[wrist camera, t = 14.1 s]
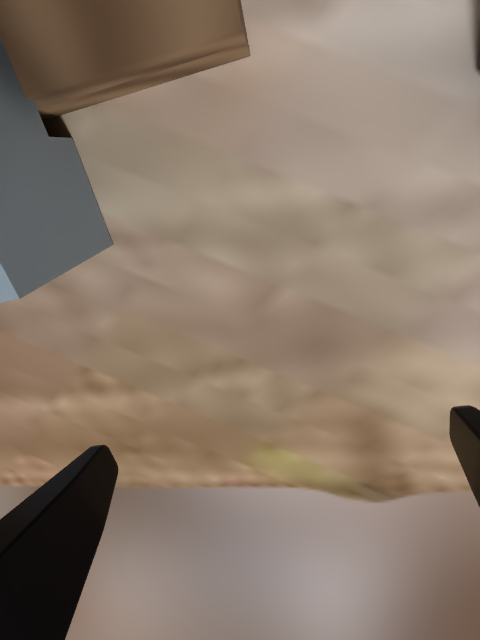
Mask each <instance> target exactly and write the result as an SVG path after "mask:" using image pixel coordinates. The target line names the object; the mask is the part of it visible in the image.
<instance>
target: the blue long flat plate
mask: <svg viewBox="0 0 480 640" xmlns="http://www.w3.org/2000/svg"><path fill="white" fill-rule="evenodd" d="M112 245H113V243H112V240H111V237H110V235H109V232H108V230H107V227H106V224H105V222H104V219H103V217H102V214H101V211H100V209H99V206H98V204H97V201H96V198H95V196H94V193H93V191H92V188H91V185H90V183H89V180H88V178H87V175H86V173H85V170H84V167H83V165H82V162H81V160H80V157H79V154H78V152H77V149H76V147H75V144H74V141H73V139H72V138H64V137H49V136H48V134H47V131H46V129H45V126H44V124H43V122H42V119H41V117H40V114H39V112H38V109H37V107H36V104H35V102H34V100H32V99H27V98H26V97H25V94H24V92H23V89H22V87H21V85H20V82H19V80H18V77H17V75H16V73H15V70H14V68H13V66H12V63H11V61H10V58H9V56H8V54H7V51H6V49H5V46H4V44H3V42H2V39H1V37H0V303H1V302H6V301H11V300H16V299H20V298H22V297H24V296H25V295H27V294H29V293H31V292H32V291H34V290H36V289H37V288H39V287H41V286H43V285H44V284H46V283H48V282H49V281H51V280H53V279H55V278H56V277H58V276H60V275H62V274H63V273H65V272H67V271H68V270H70V269H72V268H74V267H75V266H77V265H79V264H80V263H82V262H84V261H86V260H87V259H89V258H91V257H93V256H94V255H96V254H98V253H99V252H101V251H103V250H105V249H106V248H108V247H110V246H112Z"/></svg>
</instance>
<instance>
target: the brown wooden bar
mask: <svg viewBox="0 0 480 640" xmlns="http://www.w3.org/2000/svg"><path fill="white" fill-rule="evenodd" d="M0 37H1V39H2V42H3V44H4V46H5V49H6V51H7V54H8V56H9V58H10V61H11V63H12V66H13V68H14V70H15V73H16V75H17V77H18V80H19V82H20V85H21V87H22V89H23V92H24V94H25V97H26V98H27V99H32V100H34V102H35V104H36V107H37V109H38V112H39V114H40V117H41V119H42V121H43V120H46V119H50V118H53V117H56V116H59V115H62V114H66V113H69V112H72V111H75V110H79V109H82V108H85V107H88V106H91V105H95V104H98V103H101V102H104V101H107V100H111V99H114V98H117V97H120V96H123V95H127V94H130V93H133V92H136V91H139V90H143V89H146V88H149V87H152V86H155V85H159V84H162V83H165V82H168V81H172V80H175V79H178V78H181V77H184V76H188V75H191V74H194V73H197V72H200V71H204V70H207V69H210V68H213V67H216V66H220V65H223V64H226V63H229V62H232V61H236V60H239V59H242V58H245V57H249V56H250V50H249V45H248V39H247V34H246V28H245V22H244V17H243V11H242V6H241V0H0Z"/></svg>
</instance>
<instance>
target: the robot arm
mask: <svg viewBox="0 0 480 640" xmlns="http://www.w3.org/2000/svg"><path fill="white" fill-rule="evenodd" d="M450 439H451V442H452V445H453V447H454V450H455V452H456V454H457V457H458V459H459V461H460V463H461V466H462V468H463V470H464V473H465V475H466V477H467V480H468V482H469V484H470V487H471V489H472V491H473V494H474V496H475V498H476V500H477V502H478V505H479V506H480V410H478V409H476V408H475V407H473V406H469V405H467V406H458V407H453V408H452V409H451V411H450ZM117 476H118V465H117V463H116V461H115V459H114V457H113V455H112V453H111V451H110V449H109V448H108V447H107V446H106V445H97V446H92V447H90V448H89V449H87V450H86V451H85V452H84V453H82V454H81V455H80V456H79V457H77V458H76V459H75V460H74V461H72V462H71V463H70V464H69V465H67V466H66V467H65V468H64V469H62V470H61V471H60V472H59V473H57V474H56V475H55V476H54V477H53V478H51V479H50V480H49V481H48V482H46V483H45V484H44V485H43V486H41V487H40V488H39V489H38V490H36V491H35V492H34V493H33V494H31V495H30V496H29V497H28V498H26V499H25V500H24V501H23V502H21V503H20V504H19V505H18V506H16V507H15V508H14V509H13V510H11V511H10V512H9V513H8V514H7V515H5V516H4V517H3V518H1V520H0V640H65V638H66V635H67V632H68V630H69V627H70V624H71V621H72V618H73V615H74V613H75V610H76V607H77V604H78V601H79V598H80V596H81V593H82V590H83V587H84V584H85V581H86V579H87V576H88V573H89V570H90V567H91V564H92V561H93V559H94V556H95V553H96V550H97V547H98V545H99V542H100V539H101V536H102V533H103V530H104V526H105V522H106V519H107V515H108V511H109V507H110V503H111V499H112V495H113V491H114V488H115V484H116V480H117Z"/></svg>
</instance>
